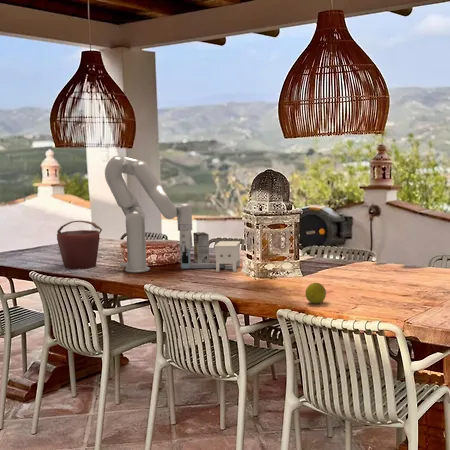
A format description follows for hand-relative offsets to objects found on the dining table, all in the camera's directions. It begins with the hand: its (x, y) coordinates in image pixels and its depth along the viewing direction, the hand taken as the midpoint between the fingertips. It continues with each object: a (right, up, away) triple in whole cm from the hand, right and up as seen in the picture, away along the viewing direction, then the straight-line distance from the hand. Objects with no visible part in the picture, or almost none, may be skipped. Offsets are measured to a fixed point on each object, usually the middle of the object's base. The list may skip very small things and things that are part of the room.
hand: (186, 262), depth 335 cm
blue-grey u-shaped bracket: (+9, -3, -1) cm, 9 cm away
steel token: (+23, -3, -3) cm, 23 cm away
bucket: (-58, -4, +14) cm, 60 cm away
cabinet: (+22, -3, -3) cm, 22 cm away
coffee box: (+7, -1, +18) cm, 20 cm away
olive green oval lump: (+56, -11, -83) cm, 101 cm away
